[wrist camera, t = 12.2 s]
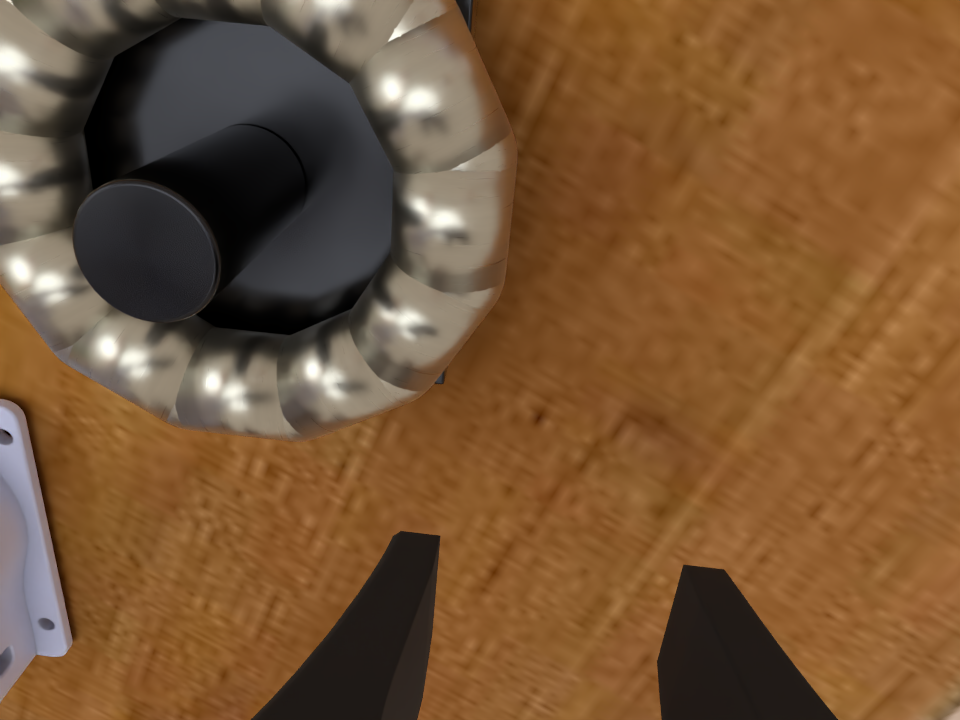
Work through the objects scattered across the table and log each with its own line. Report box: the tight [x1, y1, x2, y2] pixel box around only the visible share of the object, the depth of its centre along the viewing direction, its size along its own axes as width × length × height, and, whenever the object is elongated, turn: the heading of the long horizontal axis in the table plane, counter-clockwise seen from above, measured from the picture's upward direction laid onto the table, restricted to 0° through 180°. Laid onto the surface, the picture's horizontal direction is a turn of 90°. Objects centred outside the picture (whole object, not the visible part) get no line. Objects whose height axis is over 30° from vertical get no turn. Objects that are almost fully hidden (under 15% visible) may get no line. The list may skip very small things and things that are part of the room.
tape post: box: [72, 0, 478, 384], centre depth 15 cm, size 9×9×6 cm
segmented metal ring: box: [0, 0, 518, 442], centre depth 15 cm, size 11×11×2 cm
